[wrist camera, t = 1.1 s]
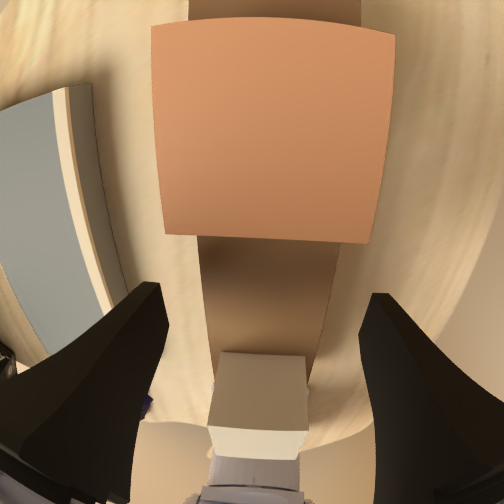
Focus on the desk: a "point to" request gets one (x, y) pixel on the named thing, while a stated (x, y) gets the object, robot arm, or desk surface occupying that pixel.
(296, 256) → the brown wooden bar
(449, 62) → the desk surface
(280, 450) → the beige box
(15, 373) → the graphics card box
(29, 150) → the dock
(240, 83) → the terracotta box
